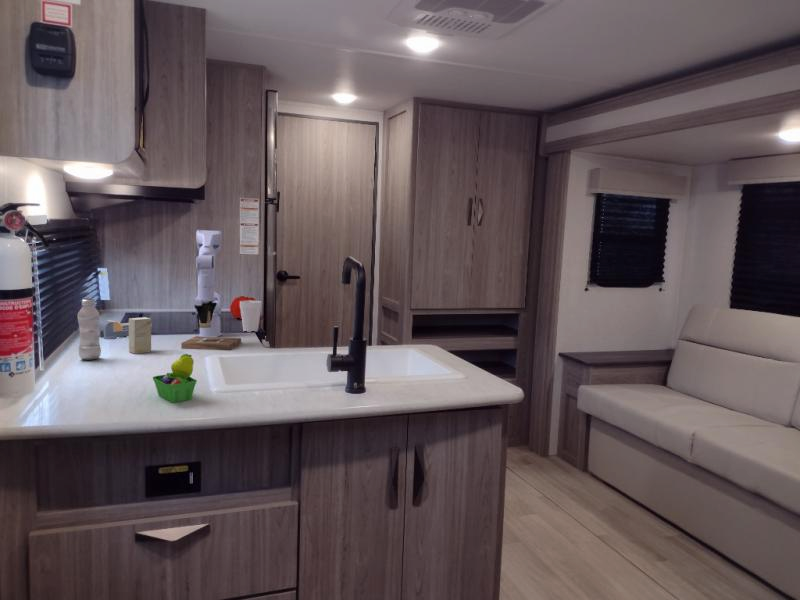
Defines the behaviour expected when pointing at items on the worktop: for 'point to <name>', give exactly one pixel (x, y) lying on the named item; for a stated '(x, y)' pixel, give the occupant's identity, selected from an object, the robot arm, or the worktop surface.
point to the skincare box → (139, 335)
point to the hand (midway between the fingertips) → (205, 322)
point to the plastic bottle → (89, 330)
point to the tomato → (238, 306)
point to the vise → (113, 329)
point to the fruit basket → (177, 381)
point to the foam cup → (250, 315)
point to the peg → (206, 325)
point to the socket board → (211, 343)
